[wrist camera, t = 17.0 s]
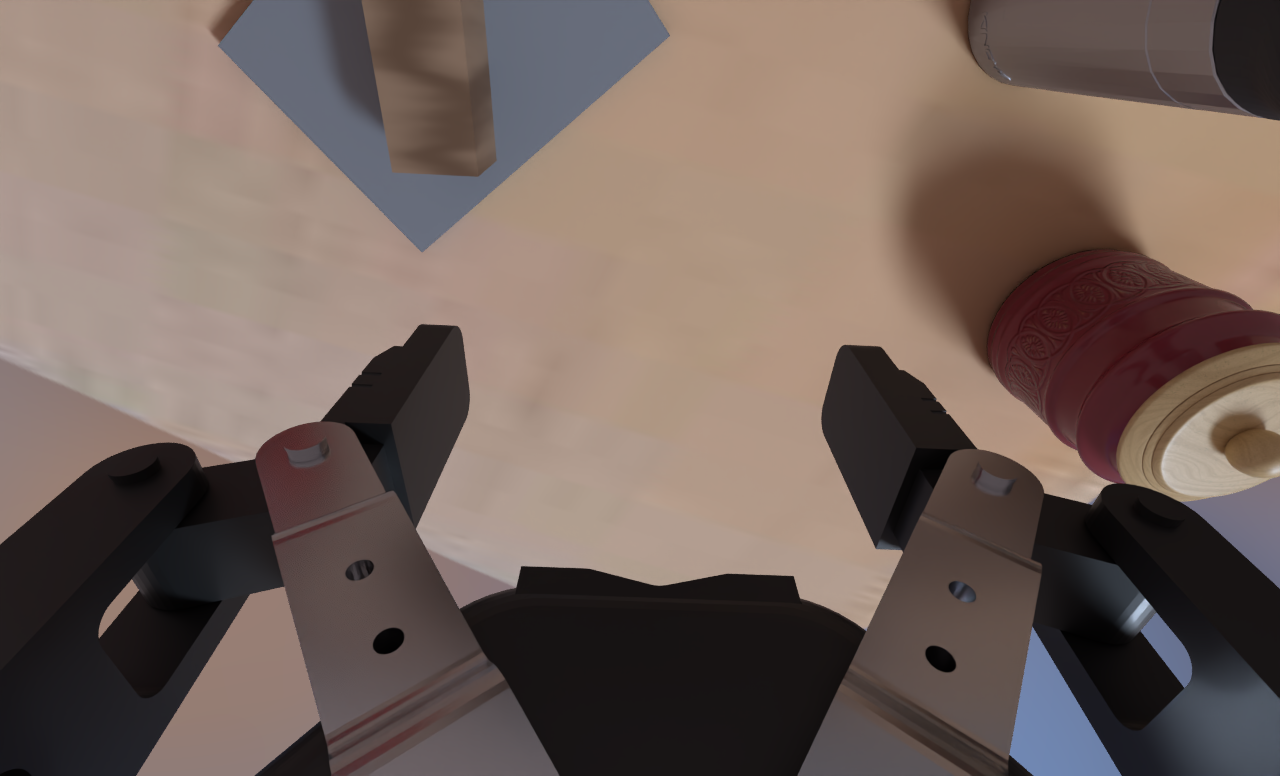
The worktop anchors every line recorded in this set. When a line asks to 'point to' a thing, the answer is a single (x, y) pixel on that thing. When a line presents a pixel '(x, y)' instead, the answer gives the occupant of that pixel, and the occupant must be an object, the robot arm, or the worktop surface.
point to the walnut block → (433, 84)
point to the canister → (1145, 373)
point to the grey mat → (519, 79)
